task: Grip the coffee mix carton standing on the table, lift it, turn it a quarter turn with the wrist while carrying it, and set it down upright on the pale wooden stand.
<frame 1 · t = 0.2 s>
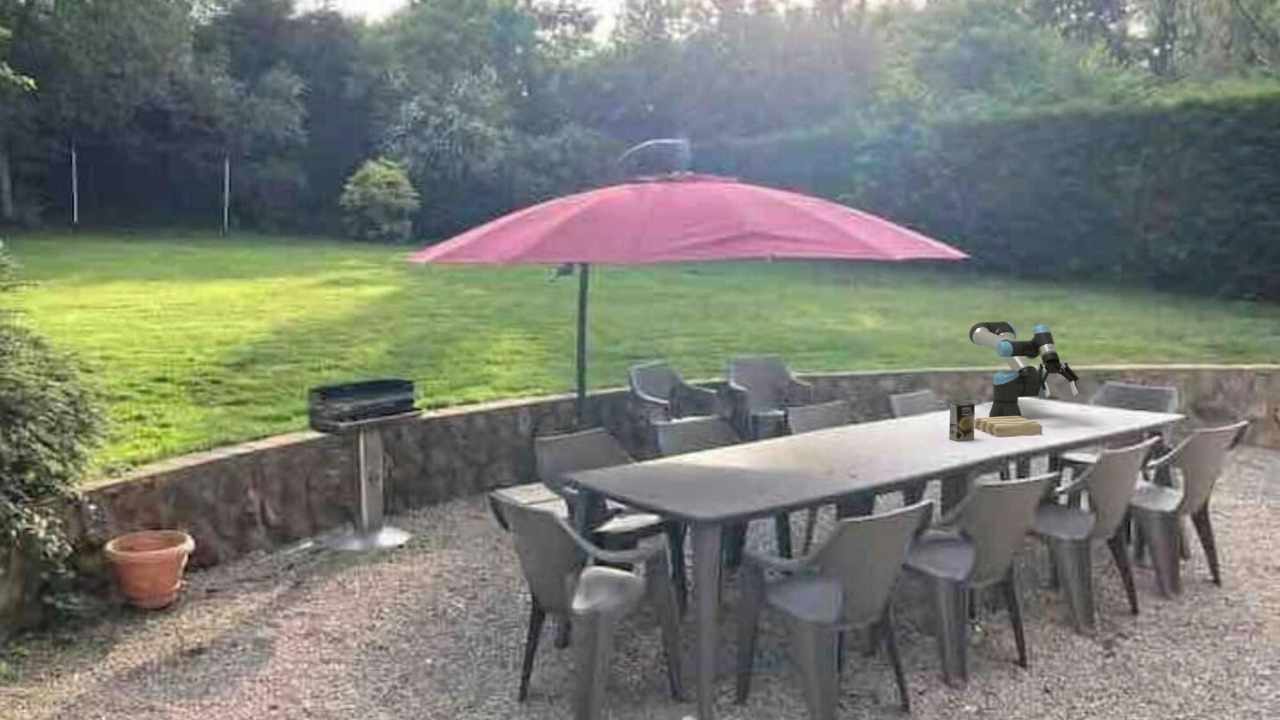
hand: (1062, 395, 514), 16 cm above the table, tool tilted 35°, fingers open, 13 cm apart
stand: (1007, 431, 511), on the table
coffee box: (961, 439, 495), on the table
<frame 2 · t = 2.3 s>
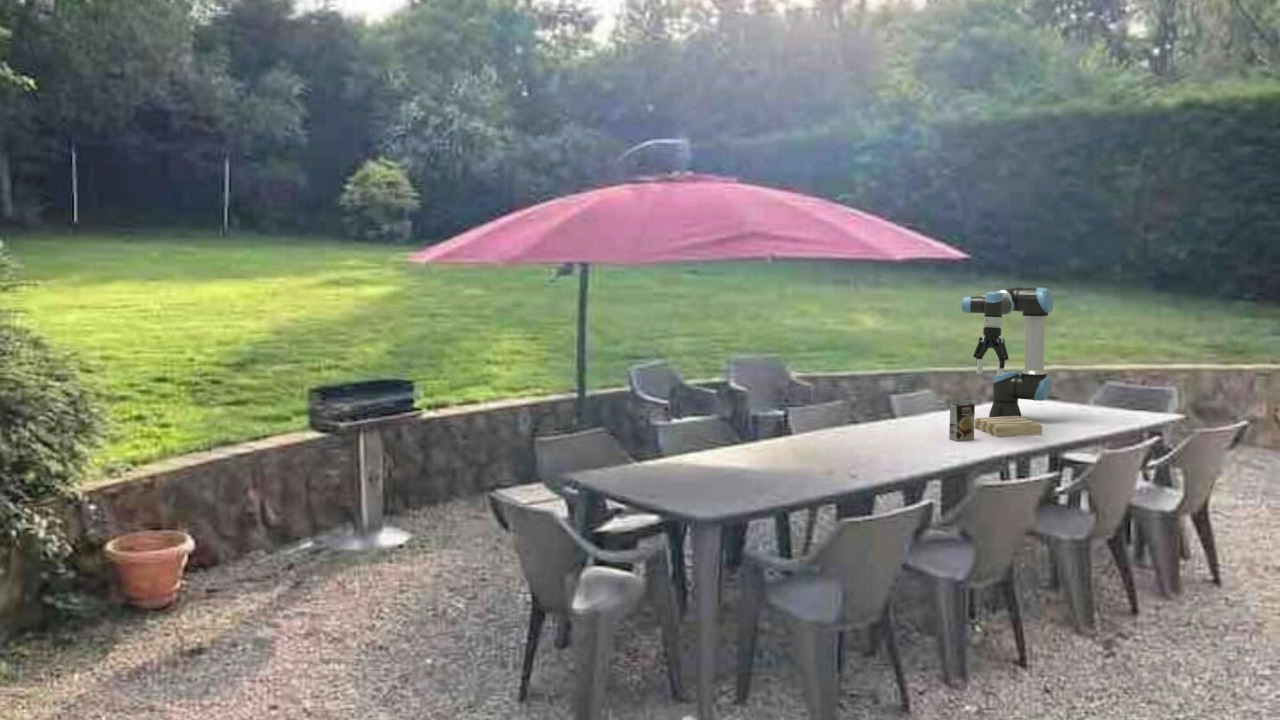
hand: (989, 374, 490), 29 cm above the table, tool pointing down, fingers open, 13 cm apart
nothing on the table moved.
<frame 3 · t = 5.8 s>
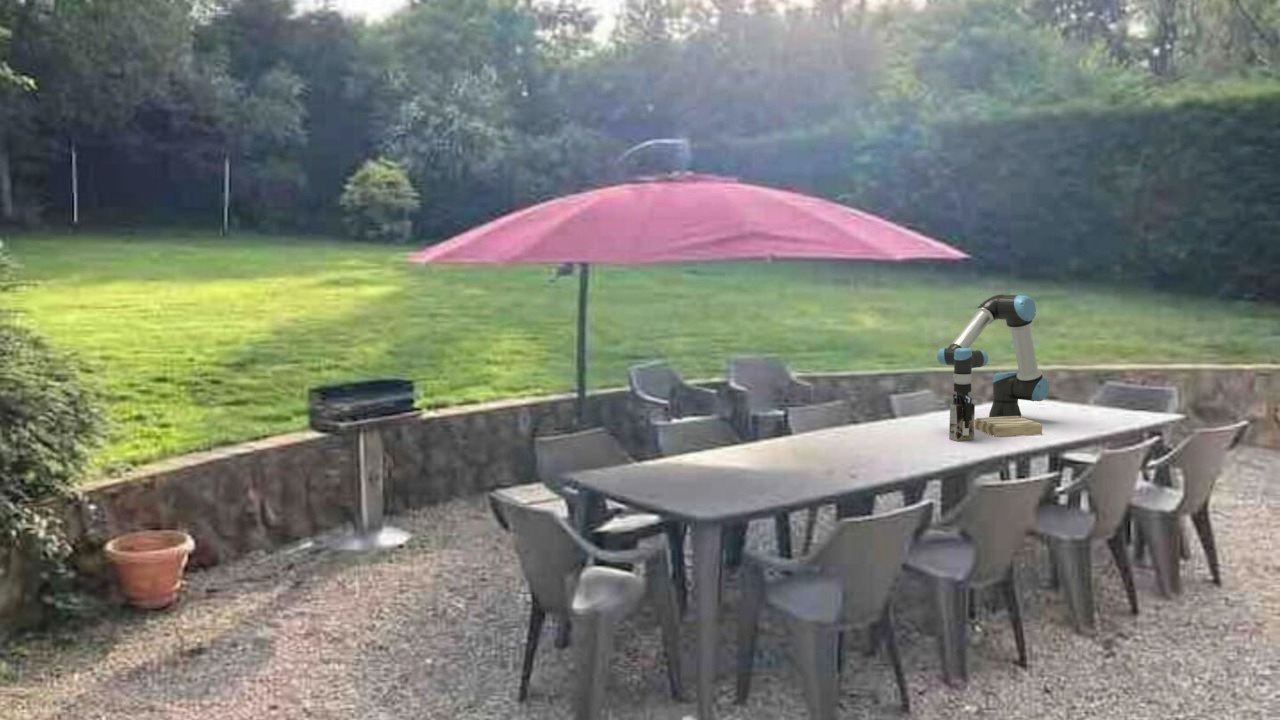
hand: (961, 433, 495), 3 cm above the table, tool pointing down, fingers closed on coffee box, 7 cm apart
coffee box: (961, 439, 495), on the table, touching gripper
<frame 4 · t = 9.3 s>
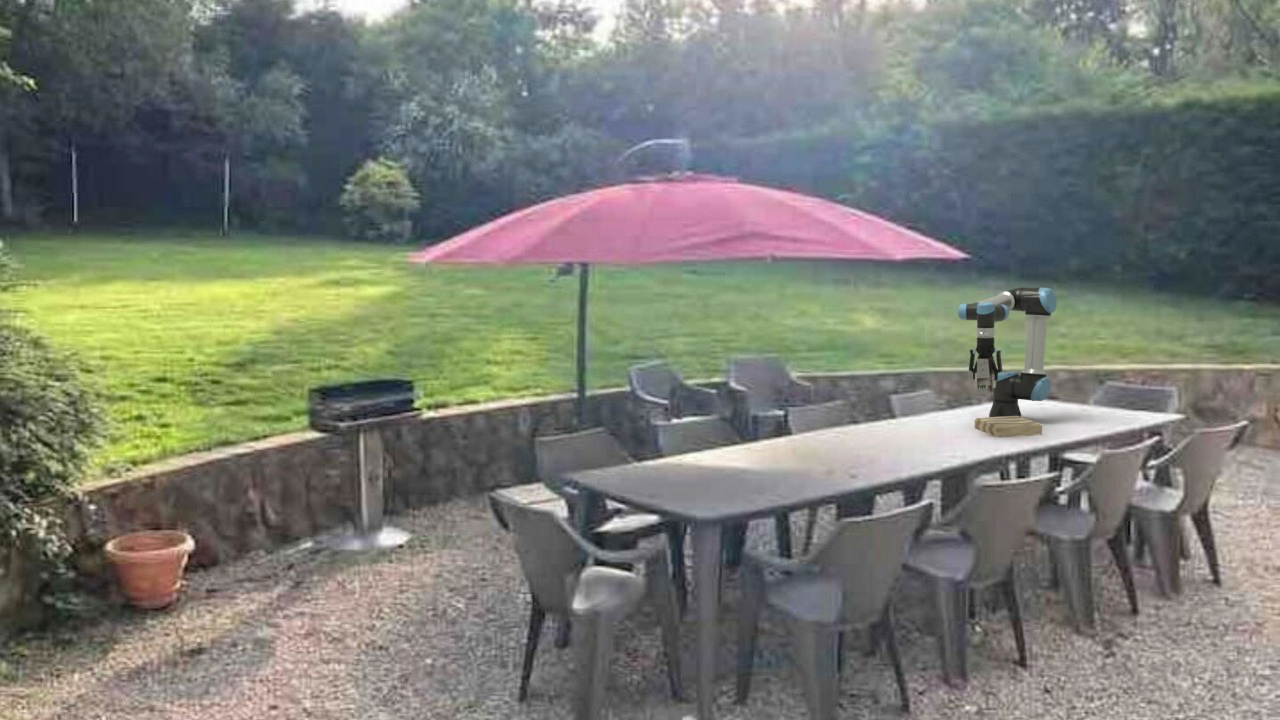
hand: (985, 387, 500), 22 cm above the table, tool pointing down, fingers closed on coffee box, 7 cm apart
coffee box: (985, 393, 501), point 19 cm above the table, touching gripper
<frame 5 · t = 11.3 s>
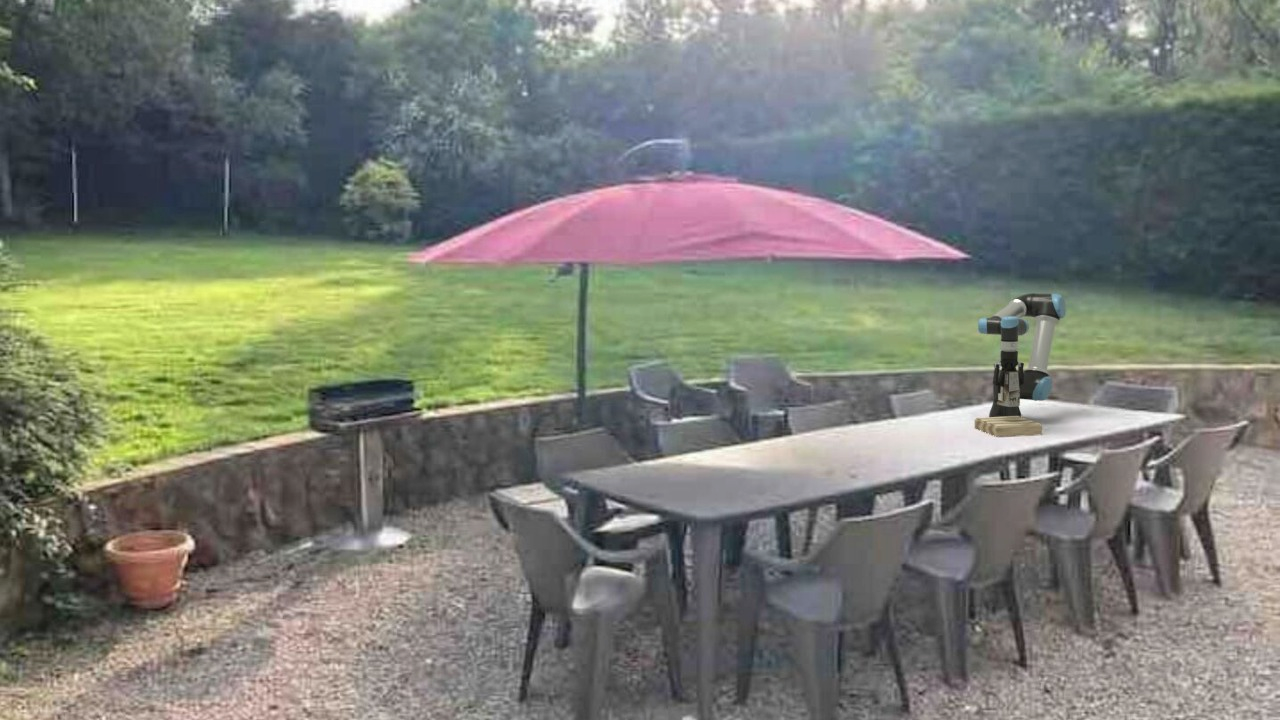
hand: (1008, 399, 509), 15 cm above the table, tool pointing down, fingers closed on coffee box, 7 cm apart
coffee box: (1008, 405, 509), point 12 cm above the table, touching gripper
when the fingers open (9 cm above the table, at t = 12.9 s): coffee box drops 1 cm, resting on stand.
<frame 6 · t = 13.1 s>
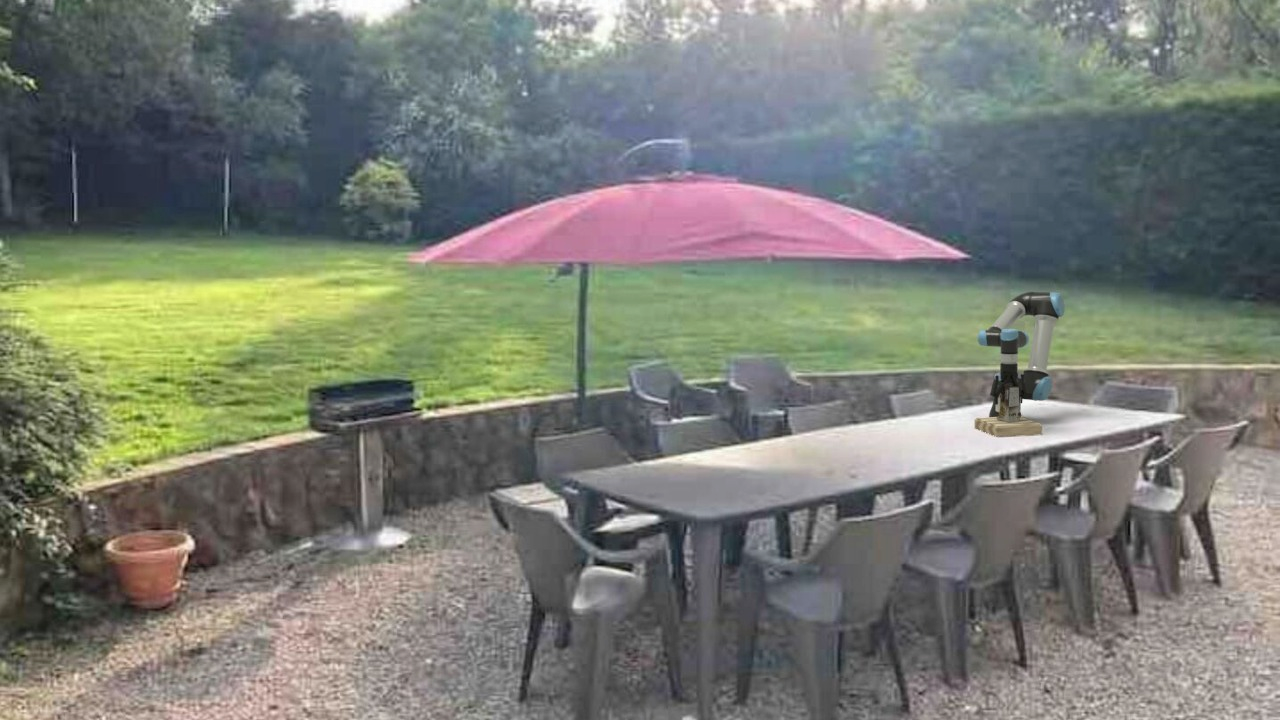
hand: (1008, 410, 510), 10 cm above the table, tool pointing down, fingers open, 9 cm apart
coffee box: (1007, 420, 510), point 5 cm above the table, touching stand
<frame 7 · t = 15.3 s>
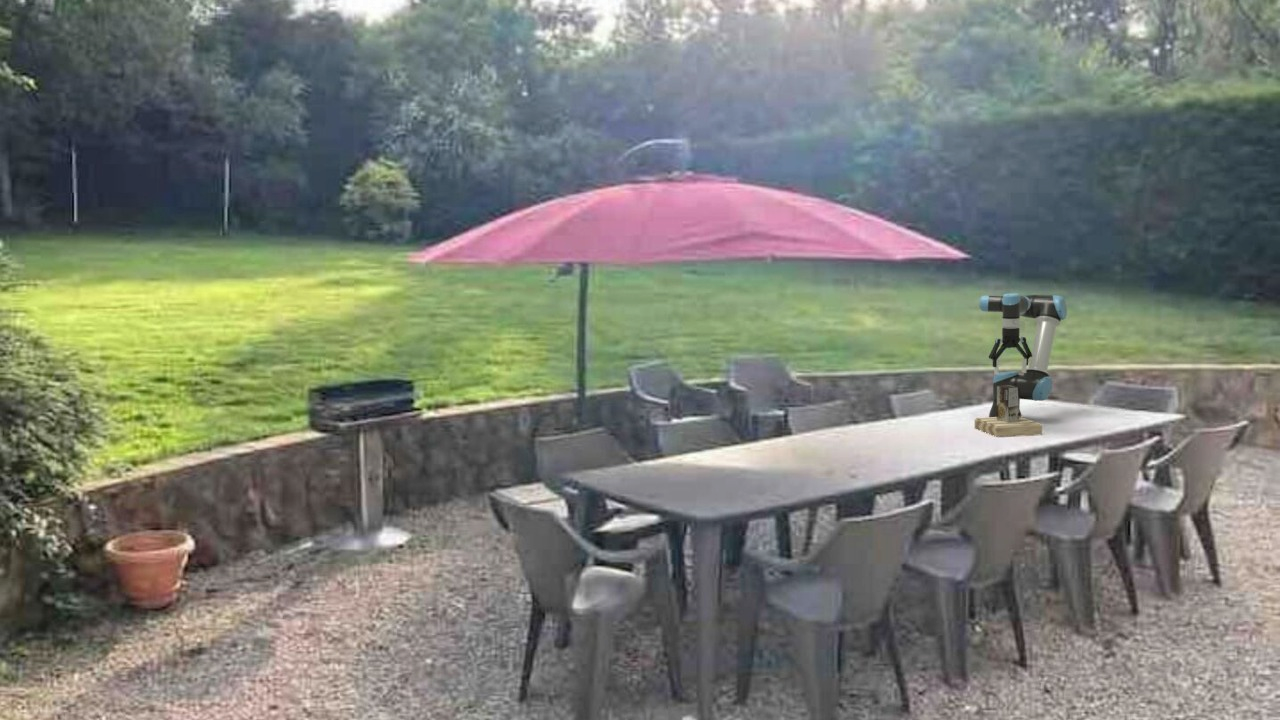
hand: (1010, 373, 509), 27 cm above the table, tool pointing down, fingers open, 13 cm apart
nothing on the table moved.
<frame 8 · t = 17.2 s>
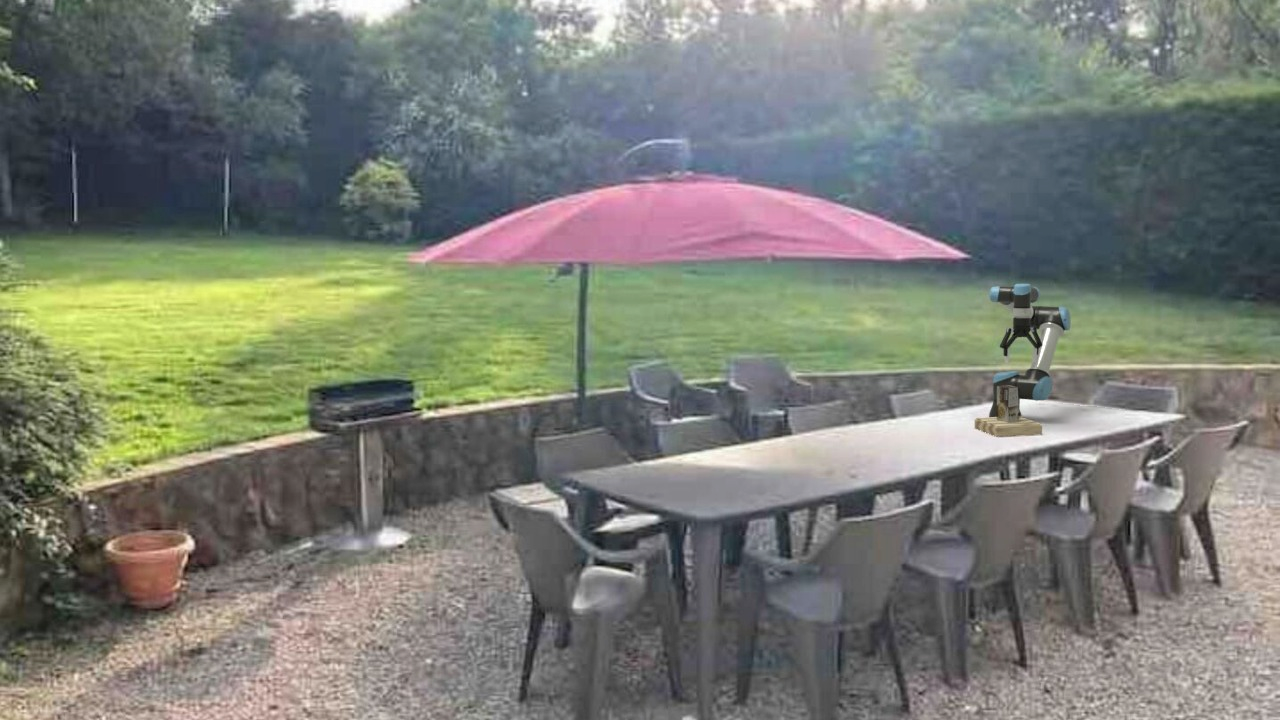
hand: (1020, 362, 516), 31 cm above the table, tool pointing down, fingers open, 13 cm apart
nothing on the table moved.
at the end: coffee box inside the target area on the stand (0.0 cm from its centre), point 4.8 cm above the stand's base; coffee box tilted 0°; the gripper is holding nothing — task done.
